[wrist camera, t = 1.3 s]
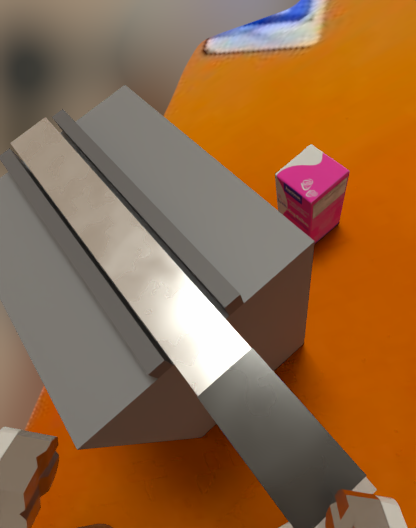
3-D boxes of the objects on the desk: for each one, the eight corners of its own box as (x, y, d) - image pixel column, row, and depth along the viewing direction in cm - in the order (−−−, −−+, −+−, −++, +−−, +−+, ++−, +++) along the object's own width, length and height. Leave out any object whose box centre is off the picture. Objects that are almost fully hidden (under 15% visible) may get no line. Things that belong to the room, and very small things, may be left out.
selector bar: (62, 137, 27) (45, 116, 25) (367, 481, 14) (378, 488, 12) (29, 163, 26) (9, 142, 25) (311, 537, 14) (313, 554, 12)
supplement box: (277, 224, 50) (273, 172, 39) (308, 198, 50) (312, 140, 40) (307, 251, 47) (311, 202, 37) (340, 223, 48) (353, 168, 37)
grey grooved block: (201, 239, 51) (116, 68, 27) (303, 343, 42) (315, 228, 18) (108, 317, 49) (-74, 209, 25) (194, 443, 40) (42, 466, 16)
